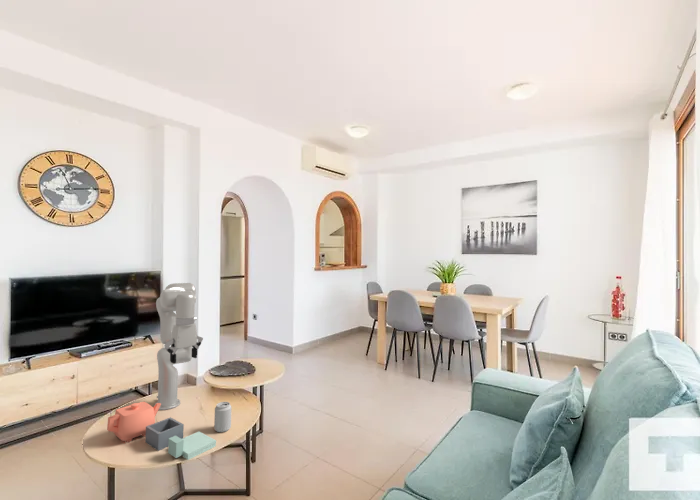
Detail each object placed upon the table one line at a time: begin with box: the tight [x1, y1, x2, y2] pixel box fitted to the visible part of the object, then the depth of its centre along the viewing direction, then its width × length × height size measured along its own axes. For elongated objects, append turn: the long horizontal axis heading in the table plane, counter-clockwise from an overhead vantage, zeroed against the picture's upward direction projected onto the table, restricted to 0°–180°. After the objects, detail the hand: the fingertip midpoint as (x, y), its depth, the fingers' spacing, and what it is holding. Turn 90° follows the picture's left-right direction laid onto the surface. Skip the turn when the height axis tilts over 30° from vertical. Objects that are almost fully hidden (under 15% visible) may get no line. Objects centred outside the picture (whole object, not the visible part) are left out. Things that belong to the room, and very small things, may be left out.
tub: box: [145, 416, 185, 452], centre depth 158 cm, size 11×11×7 cm
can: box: [213, 401, 232, 433], centre depth 170 cm, size 8×8×12 cm
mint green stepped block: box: [167, 431, 217, 461], centre depth 152 cm, size 13×16×7 cm
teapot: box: [106, 401, 161, 443], centre depth 163 cm, size 22×13×14 cm, turn 141°
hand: (184, 360), depth 157 cm, fingers open, 9 cm apart
